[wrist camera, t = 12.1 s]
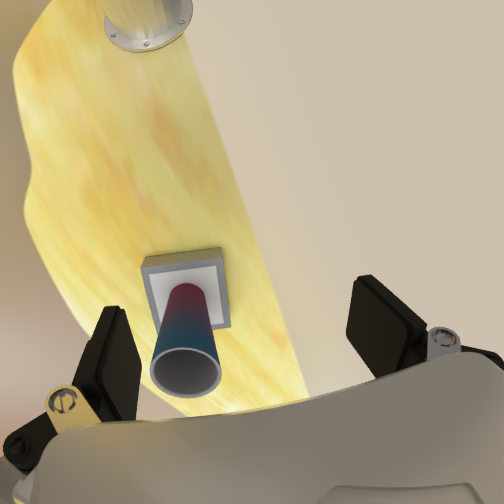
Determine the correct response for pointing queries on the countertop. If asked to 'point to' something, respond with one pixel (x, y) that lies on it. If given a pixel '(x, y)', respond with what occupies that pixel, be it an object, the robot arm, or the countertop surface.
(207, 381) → the cup
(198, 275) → the riser
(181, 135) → the countertop surface
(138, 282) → the countertop surface
